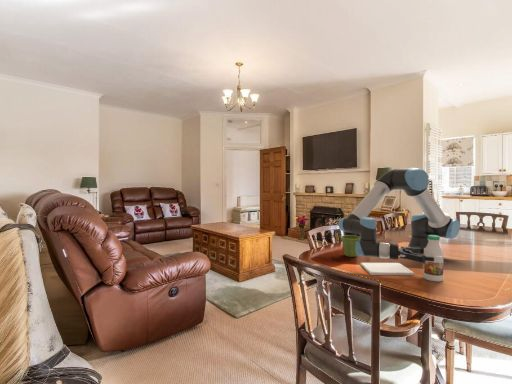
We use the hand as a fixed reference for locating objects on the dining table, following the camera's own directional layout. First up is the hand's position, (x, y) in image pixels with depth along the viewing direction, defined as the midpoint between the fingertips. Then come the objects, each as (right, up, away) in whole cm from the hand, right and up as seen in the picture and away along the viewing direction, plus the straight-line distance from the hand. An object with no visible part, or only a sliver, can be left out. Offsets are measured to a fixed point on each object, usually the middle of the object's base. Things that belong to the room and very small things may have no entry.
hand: (441, 256), depth 127 cm
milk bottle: (-3, -11, +2) cm, 12 cm away
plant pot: (-26, -10, +43) cm, 52 cm away
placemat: (-18, -11, +16) cm, 26 cm away
